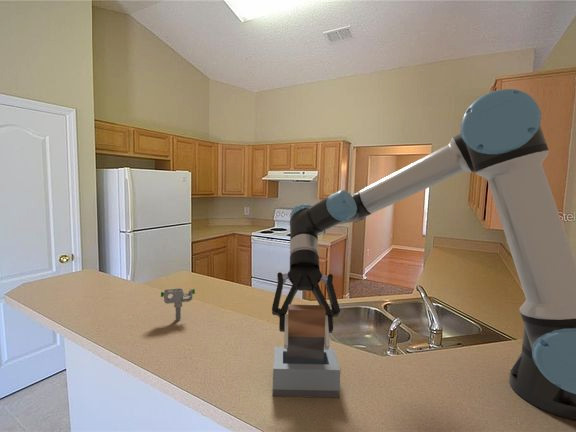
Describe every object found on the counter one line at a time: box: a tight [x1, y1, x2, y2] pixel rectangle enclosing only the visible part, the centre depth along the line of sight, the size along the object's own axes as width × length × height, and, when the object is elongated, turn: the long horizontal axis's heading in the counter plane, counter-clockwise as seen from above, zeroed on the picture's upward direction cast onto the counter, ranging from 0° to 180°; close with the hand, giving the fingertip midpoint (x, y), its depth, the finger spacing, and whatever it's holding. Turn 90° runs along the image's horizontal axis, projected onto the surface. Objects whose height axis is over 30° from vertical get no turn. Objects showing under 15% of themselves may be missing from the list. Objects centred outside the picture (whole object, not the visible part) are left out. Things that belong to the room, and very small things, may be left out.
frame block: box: [272, 346, 341, 398], centre depth 68 cm, size 9×14×6 cm, turn 91°
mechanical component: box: [160, 287, 196, 322], centre depth 98 cm, size 3×10×10 cm, turn 112°
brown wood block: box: [287, 303, 326, 359], centre depth 67 cm, size 3×8×11 cm, turn 91°
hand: (306, 347), depth 64 cm, fingers closed on brown wood block, 8 cm apart
